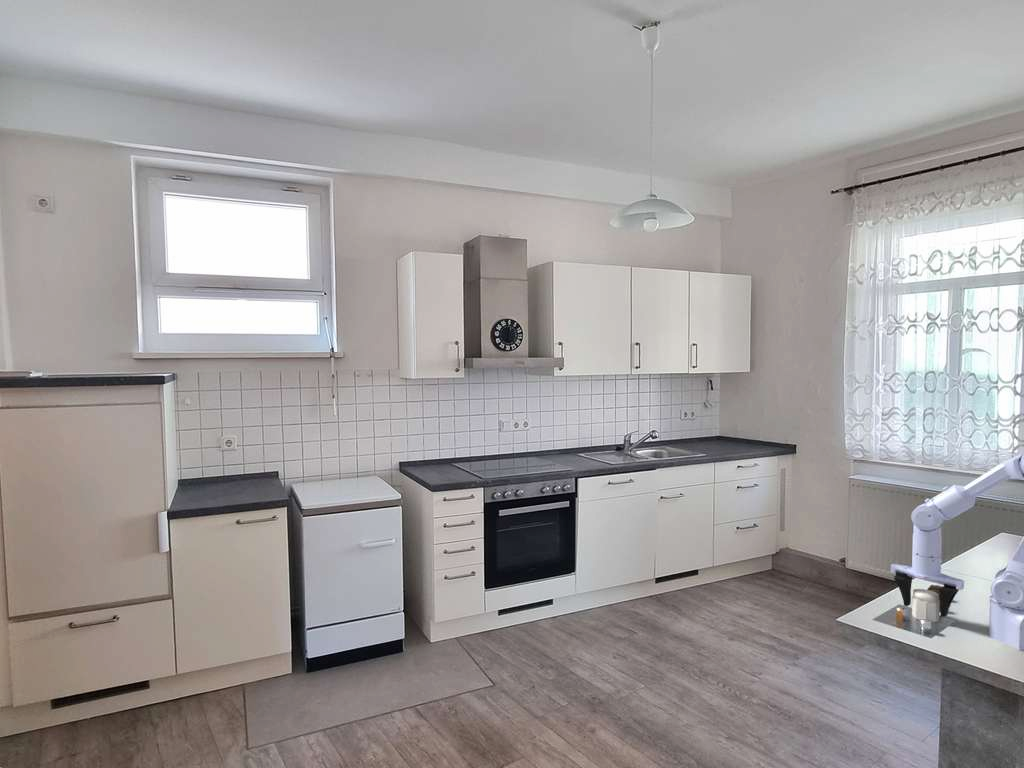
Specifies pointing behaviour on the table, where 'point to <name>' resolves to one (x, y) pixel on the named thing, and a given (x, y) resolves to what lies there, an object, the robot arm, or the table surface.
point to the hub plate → (913, 621)
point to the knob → (925, 605)
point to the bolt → (936, 589)
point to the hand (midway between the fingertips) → (925, 610)
